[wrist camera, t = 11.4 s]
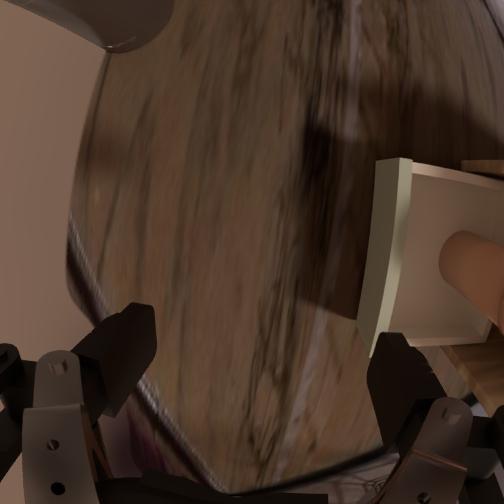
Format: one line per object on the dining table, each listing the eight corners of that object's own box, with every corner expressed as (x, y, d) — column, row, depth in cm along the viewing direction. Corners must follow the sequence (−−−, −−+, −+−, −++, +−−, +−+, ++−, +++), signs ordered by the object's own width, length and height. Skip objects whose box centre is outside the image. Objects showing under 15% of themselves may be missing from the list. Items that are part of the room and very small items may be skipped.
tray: (375, 160, 24) (399, 157, 18) (493, 183, 22) (530, 188, 16) (355, 323, 27) (369, 357, 22) (467, 323, 26) (493, 350, 20)
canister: (442, 224, 22) (519, 259, 12) (488, 231, 22) (564, 265, 11) (431, 286, 24) (492, 347, 13) (476, 288, 23) (540, 341, 13)
